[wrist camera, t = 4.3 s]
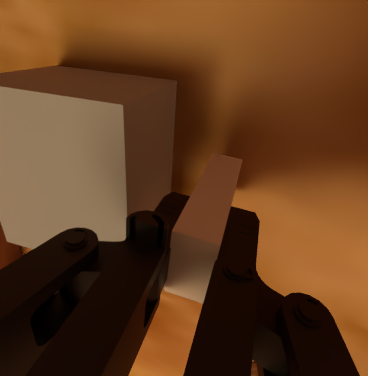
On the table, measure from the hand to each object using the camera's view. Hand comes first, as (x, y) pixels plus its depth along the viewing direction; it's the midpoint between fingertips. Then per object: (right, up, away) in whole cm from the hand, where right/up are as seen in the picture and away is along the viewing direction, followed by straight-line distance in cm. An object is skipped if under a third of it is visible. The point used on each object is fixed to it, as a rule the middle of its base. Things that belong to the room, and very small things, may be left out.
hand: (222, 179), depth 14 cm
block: (-6, +2, +3) cm, 7 cm away
